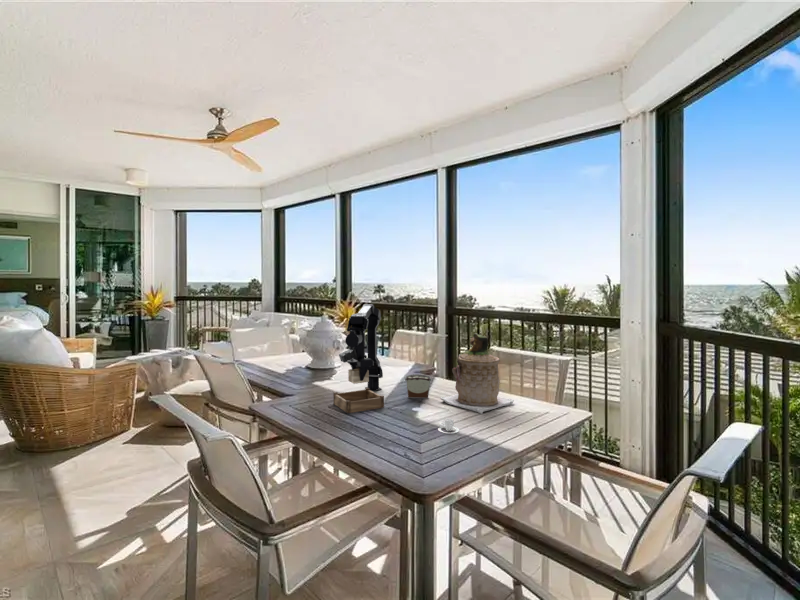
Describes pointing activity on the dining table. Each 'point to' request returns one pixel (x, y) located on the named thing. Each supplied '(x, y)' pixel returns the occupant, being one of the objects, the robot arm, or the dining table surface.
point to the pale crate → (357, 376)
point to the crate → (358, 400)
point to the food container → (418, 385)
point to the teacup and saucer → (447, 426)
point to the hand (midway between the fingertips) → (358, 379)
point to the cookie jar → (477, 379)
